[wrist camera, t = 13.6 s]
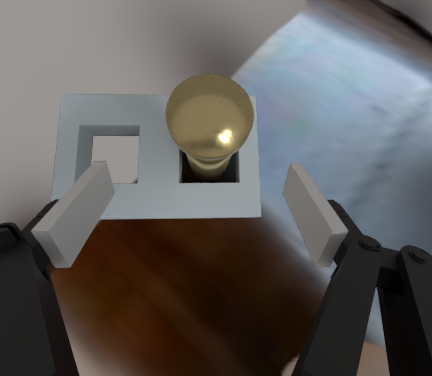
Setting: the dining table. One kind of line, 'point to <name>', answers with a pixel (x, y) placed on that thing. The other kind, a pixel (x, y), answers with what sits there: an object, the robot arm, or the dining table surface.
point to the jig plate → (150, 161)
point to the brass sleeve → (209, 122)
